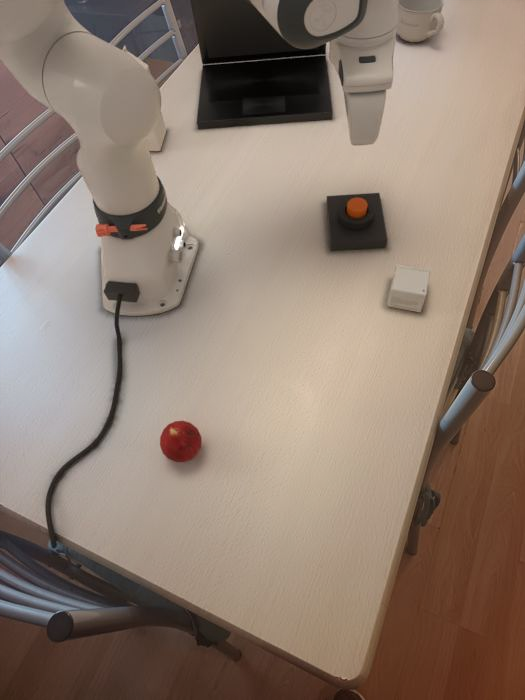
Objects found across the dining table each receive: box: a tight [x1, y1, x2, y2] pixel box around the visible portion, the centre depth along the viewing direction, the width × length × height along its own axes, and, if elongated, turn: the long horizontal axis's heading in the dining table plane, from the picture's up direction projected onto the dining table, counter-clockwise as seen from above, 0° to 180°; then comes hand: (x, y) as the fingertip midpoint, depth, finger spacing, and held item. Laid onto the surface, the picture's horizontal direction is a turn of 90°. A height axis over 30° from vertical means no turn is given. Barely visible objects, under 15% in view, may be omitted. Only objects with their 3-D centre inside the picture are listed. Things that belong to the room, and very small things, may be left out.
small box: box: [386, 263, 431, 313], centre depth 83 cm, size 6×6×5 cm
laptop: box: [196, 54, 333, 130], centre depth 116 cm, size 22×30×2 cm
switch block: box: [325, 192, 388, 252], centre depth 92 cm, size 12×10×4 cm
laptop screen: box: [190, 0, 327, 66], centre depth 111 cm, size 22×30×1 cm
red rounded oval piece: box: [159, 420, 202, 463], centre depth 71 cm, size 6×6×8 cm
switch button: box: [347, 198, 368, 219], centre depth 90 cm, size 4×4×2 cm
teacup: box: [396, 0, 445, 43], centre depth 120 cm, size 14×11×8 cm
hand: (354, 131), depth 80 cm, fingers closed
